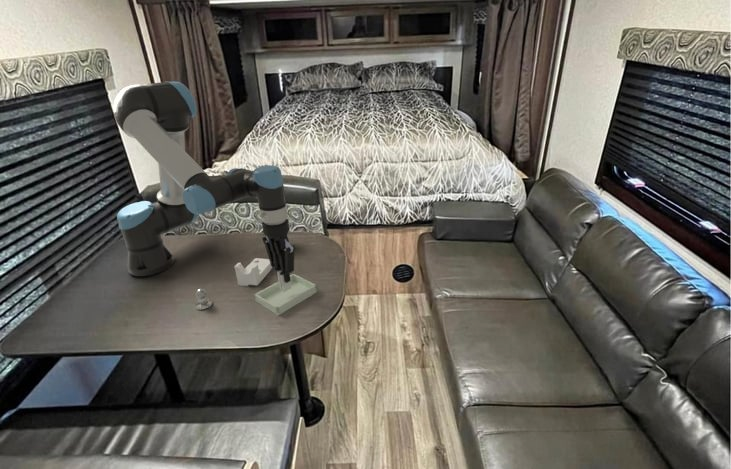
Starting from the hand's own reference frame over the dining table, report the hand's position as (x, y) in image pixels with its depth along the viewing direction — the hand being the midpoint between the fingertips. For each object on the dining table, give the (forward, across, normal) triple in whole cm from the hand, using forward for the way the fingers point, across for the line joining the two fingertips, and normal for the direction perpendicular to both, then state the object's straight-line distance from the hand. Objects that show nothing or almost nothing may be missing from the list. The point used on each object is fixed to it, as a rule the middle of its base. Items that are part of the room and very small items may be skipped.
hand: (285, 288), depth 123 cm
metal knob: (+3, -17, -19) cm, 26 cm away
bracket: (+3, -18, +2) cm, 19 cm away
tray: (+3, 0, 0) cm, 3 cm away
